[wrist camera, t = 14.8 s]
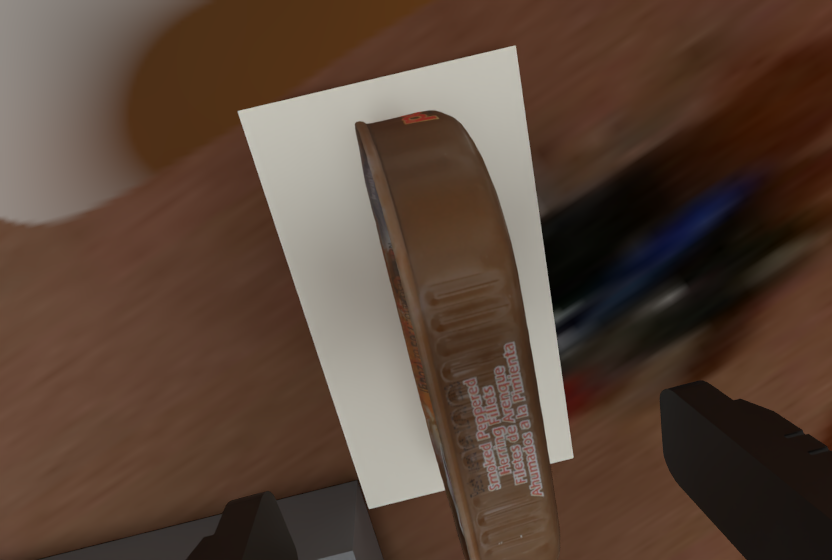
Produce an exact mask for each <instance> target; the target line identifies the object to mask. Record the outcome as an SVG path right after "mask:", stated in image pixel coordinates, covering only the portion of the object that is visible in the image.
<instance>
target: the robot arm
mask: <svg viewBox="0 0 832 560" xmlns="http://www.w3.org/2000/svg"><path fill="white" fill-rule="evenodd" d="M660 412H661V427H662V442H663V454H664V458H665V461H666V464H667V466H668V468H669V471H670V472H671V474H672V476H673V478H674V479H675V481H676V482H677V483H678V484H679V486H680V487H681V488H682V489H683V490H684V491H685V492H686V493H687V495H688V496H689V497H690V498H691V499H692V500H693V501H694V502H695V503H696V504H697V506H698V507H699V508H700V509H701V510H702V511H703V512H704V513H705V514H706V515H707V517H708V518H709V519H710V520H711V521H712V522H713V523H714V524H715V525H716V526H717V528H718V529H719V530H720V531H721V532H722V533H723V534H724V535H725V536H726V537H727V539H728V540H729V541H730V542H731V543H732V544H733V545H734V546H735V547H736V548H737V550H738V551H739V552H740V553H741V554H742V555H743V556H744V557H745V558H746V559H747V560H832V451H829V449H828V448H827V446H826V445H824V444H823V443H821V442H820V441H818V440H817V439H815V438H814V437H812V436H811V435H809V434H807V435H805V434H804V433H803V430H802V429H800V428H798V427H797V426H795V425H794V424H792V423H791V422H789V421H788V420H786V419H785V418H783V417H782V416H780V415H779V414H777V413H776V412H774V411H771V410H769V409H766V408H764V407H761V406H758V405H756V404H753V403H750V402H748V401H745V400H742V399H737V400H732V399H731V398H729V397H728V396H726V395H725V394H724V393H722V392H721V391H719V390H718V389H716V388H715V387H714V386H712V385H711V384H709V383H707V382H705V381H696V382H692V383H688V384H684V385H680V386H676V387H673V388H669V389H665V390H663V391H662V392H661V394H660ZM186 560H298V555H297V551H296V547H295V545H294V542H293V540H292V537H291V535H290V533H289V530H288V528H287V525H286V523H285V521H284V518H283V516H282V513H281V511H280V509H279V506H278V504H277V501H276V499H275V497H274V495H273V494H272V493H271V492H269V491H266V492H262V493H259V494H255V495H251V496H247V497H243V498H239V499H235V500H232V501H230V502H229V503H228V504H227V505H226V507H225V509H224V511H223V514H222V516H221V519H220V521H219V523H218V526H217V528H216V531H215V533H214V535H210V536H206V537H203V539H202V540H201V541H200V542H199V544H198V545H197V546H196V547H195V549H194V550H193V551H192V552H191V554H190V555H189V556H188V557H187V559H186Z"/></svg>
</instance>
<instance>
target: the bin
mask: <svg viewBox="0 0 832 560" xmlns="http://www.w3.org/2000/svg"><path fill="white" fill-rule="evenodd" d="M276 501H277V504H278V506H279V509H280V511H281V513H282V516H283V518H284V521H285V523H286V525H287V528H288V530H289V533H290V535H291V537H292V540H293V542H294V545H295V547H296V551H297V555H298V560H383V557H382V554H381V551H380V548H379V544H378V541H377V538H376V535H375V532H374V529H373V526H372V523H371V520H370V517H369V514H368V511H367V508H366V505H365V502H364V499H363V496H362V493H361V490H360V487H359V484H358V481H357V480H356V481H352V482H348V483H344V484H340V485H336V486H332V487H328V488H324V489H320V490H316V491H312V492H308V493H304V494H300V495H296V496H292V497H288V498H284V499H280V500H276ZM221 516H222V514H220V515H216V516H212V517H208V518H204V519H200V520H196V521H192V522H188V523H184V524H180V525H176V526H172V527H168V528H164V529H160V530H156V531H152V532H148V533H144V534H140V535H136V536H132V537H128V538H124V539H120V540H116V541H112V542H108V543H104V544H100V545H96V546H92V547H88V548H84V549H80V550H76V551H72V552H68V553H64V554H60V555H56V556H52V557H47V558H43V559H39V560H186V559H187V557H188V556H189V555H190V554H191V552H192V551H193V550H194V549H195V547H196V546H197V545H198V544H199V542H200V541H201V540H202V539H203V537H206V536H210V535H214V533H215V531H216V528H217V526H218V523H219V521H220V519H221Z"/></svg>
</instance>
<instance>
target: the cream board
mask: <svg viewBox="0 0 832 560" xmlns="http://www.w3.org/2000/svg"><path fill="white" fill-rule="evenodd" d="M428 110H435V111H439V112H442V113H444V114H447V115H449V116H452V117H454V118H455V119H456V120H458V121H459V122H460V123H461V124H462V125H463V127H464V128H465V129H466V131H467V132H468V134H469V135H470V137H471V138H472V140H473V141H474V143H475V145H476V147H477V149H478V150H479V152H480V154H481V156H482V158H483V160H484V162H485V165H486V167H487V170H488V172H489V175H490V177H491V180H492V182H493V185H494V187H495V189H496V192H497V195H498V198H499V201H500V205H501V208H502V211H503V215H504V218H505V221H506V225H507V228H508V232H509V235H510V239H511V243H512V247H513V252H514V256H515V261H516V265H517V270H518V275H519V281H520V287H521V292H522V298H523V304H524V309H525V316H526V322H527V327H528V331H529V339H530V345H531V350H532V356H533V362H534V368H535V374H536V379H537V385H538V392H539V399H540V405H541V410H542V416H543V421H544V429H545V435H546V441H547V448H548V454H549V459H550V464H552V463H556V462H560V461H564V460H568V459H572V458H574V457H573V450H572V443H571V436H570V429H569V422H568V415H567V408H566V401H565V393H564V386H563V379H562V372H561V365H560V358H559V351H558V344H557V336H556V329H555V322H554V315H553V308H552V301H551V294H550V287H549V279H548V272H547V265H546V258H545V251H544V244H543V237H542V230H541V223H540V215H539V208H538V201H537V194H536V187H535V180H534V173H533V166H532V158H531V151H530V144H529V137H528V130H527V123H526V116H525V109H524V102H523V94H522V87H521V80H520V73H519V66H518V59H517V52H516V45H515V46H511V47H507V48H503V49H498V50H494V51H490V52H486V53H481V54H477V55H473V56H469V57H465V58H460V59H456V60H452V61H448V62H443V63H439V64H435V65H431V66H426V67H422V68H418V69H414V70H410V71H405V72H401V73H397V74H393V75H388V76H384V77H380V78H376V79H372V80H367V81H363V82H359V83H355V84H350V85H346V86H342V87H338V88H334V89H329V90H325V91H321V92H317V93H312V94H308V95H304V96H300V97H296V98H291V99H287V100H283V101H279V102H274V103H270V104H266V105H262V106H258V107H254V108H249V109H245V110H241V111H238V114H239V117H240V120H241V123H242V126H243V129H244V132H245V135H246V139H247V142H248V145H249V148H250V151H251V154H252V157H253V160H254V163H255V166H256V169H257V172H258V175H259V178H260V181H261V184H262V187H263V190H264V193H265V196H266V199H267V202H268V205H269V208H270V211H271V214H272V217H273V220H274V223H275V226H276V229H277V232H278V235H279V239H280V242H281V245H282V248H283V251H284V254H285V257H286V260H287V263H288V266H289V269H290V272H291V275H292V278H293V281H294V284H295V287H296V290H297V293H298V296H299V299H300V302H301V305H302V308H303V311H304V314H305V317H306V320H307V323H308V326H309V329H310V332H311V335H312V338H313V342H314V345H315V348H316V351H317V354H318V357H319V360H320V363H321V366H322V369H323V372H324V375H325V378H326V381H327V384H328V387H329V390H330V393H331V396H332V399H333V402H334V405H335V408H336V411H337V414H338V417H339V420H340V423H341V426H342V429H343V432H344V435H345V438H346V442H347V445H348V448H349V451H350V454H351V457H352V460H353V463H354V466H355V469H356V472H357V475H358V478H359V481H360V484H361V487H362V490H363V493H364V496H365V499H366V502H367V505H368V508H369V509H372V508H376V507H380V506H384V505H388V504H392V503H396V502H400V501H404V500H408V499H412V498H416V497H420V496H424V495H428V494H432V493H436V492H440V491H444V490H445V488H444V484H443V480H442V477H441V474H440V470H439V467H438V463H437V460H436V456H435V453H434V449H433V446H432V442H431V439H430V435H429V431H428V427H427V423H426V419H425V416H424V412H423V409H422V406H421V401H420V398H419V394H418V390H417V386H416V382H415V378H414V375H413V371H412V367H411V363H410V359H409V355H408V351H407V347H406V342H405V339H404V335H403V331H402V326H401V322H400V319H399V315H398V311H397V307H396V303H395V299H394V295H393V291H392V287H391V283H390V280H389V276H388V272H387V268H386V263H385V260H384V256H383V252H382V248H381V244H380V240H379V235H378V231H377V227H376V222H375V219H374V216H373V212H372V208H371V204H370V200H369V196H368V192H367V188H366V184H365V179H364V174H363V169H362V162H361V157H360V151H359V146H358V141H357V136H356V130H355V123H356V122H358V121H362V122H364V123H366V124H368V123H375V122H379V121H384V120H388V119H392V118H396V117H400V116H404V115H408V114H412V113H416V112H422V111H428Z"/></svg>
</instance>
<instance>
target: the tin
mask: <svg viewBox="0 0 832 560" xmlns="http://www.w3.org/2000/svg"><path fill="white" fill-rule="evenodd" d="M355 130H356V136H357V141H358V146H359V151H360V157H361V162H362V169H363V174H364V179H365V184H366V188H367V192H368V196H369V200H370V204H371V208H372V212H373V216H374V219H375V222H376V227H377V231H378V235H379V240H380V244H381V248H382V252H383V256H384V260H385V263H386V268H387V272H388V276H389V280H390V283H391V287H392V291H393V295H394V299H395V303H396V307H397V311H398V315H399V319H400V322H401V326H402V331H403V335H404V339H405V342H406V347H407V351H408V355H409V359H410V363H411V367H412V371H413V375H414V378H415V382H416V386H417V390H418V394H419V398H420V401H421V406H422V409H423V412H424V416H425V419H426V423H427V427H428V431H429V435H430V439H431V442H432V446H433V449H434V453H435V456H436V460H437V463H438V467H439V470H440V474H441V477H442V480H443V484H444V488H445V491H446V495H447V498H448V501H449V504H450V507H451V510H452V514H453V518H454V522H455V525H456V529H457V533H458V537H459V540H460V543H461V546H462V550H463V554H464V556H465V560H558V557H559V552H560V527H559V520H558V513H557V506H556V500H555V493H554V486H553V479H552V473H551V466H550V459H549V454H548V448H547V441H546V435H545V429H544V421H543V416H542V410H541V405H540V399H539V392H538V385H537V379H536V374H535V368H534V362H533V356H532V350H531V345H530V339H529V331H528V327H527V322H526V316H525V309H524V304H523V298H522V292H521V287H520V281H519V275H518V270H517V265H516V261H515V256H514V252H513V247H512V243H511V239H510V235H509V232H508V228H507V225H506V221H505V218H504V215H503V211H502V208H501V205H500V201H499V198H498V195H497V192H496V189H495V187H494V185H493V182H492V180H491V177H490V175H489V172H488V170H487V167H486V165H485V162H484V160H483V158H482V156H481V154H480V152H479V150H478V149H477V147H476V145H475V143H474V141H473V140H472V138H471V137H470V135H469V134H468V132H467V131H466V129H465V128H464V127H463V125H462V124H461V123H460V122H459V121H458V120H456V119H455V118H454V117H452V116H449V115H447V114H444V113H442V112H439V111H435V110H428V111H422V112H416V113H412V114H408V115H404V116H400V117H396V118H392V119H388V120H384V121H379V122H375V123H368V124H366V123H364V122H362V121H358V122H356V123H355Z"/></svg>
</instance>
